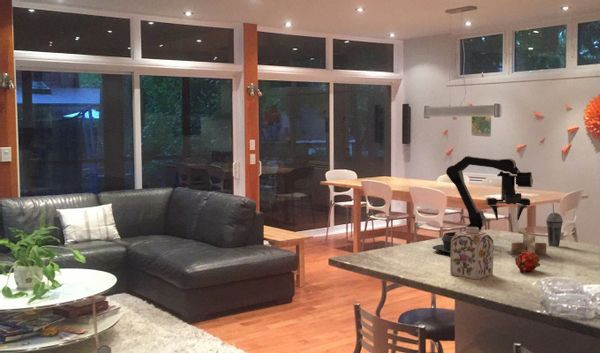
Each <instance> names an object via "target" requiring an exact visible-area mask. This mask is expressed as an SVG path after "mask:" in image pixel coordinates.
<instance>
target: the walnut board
mask: <svg viewBox="0 0 600 353" xmlns="http://www.w3.org/2000/svg"><path fill="white" fill-rule="evenodd" d="M510 249H511V250H510V251H511V254H512V255H518V254H519V253H522V252H525V250H527V249H526V243H523V242H515V241H513V242H511V248H510ZM535 254H537V255H546V254H547V243H546V242H535Z"/></svg>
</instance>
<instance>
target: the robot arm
mask: <svg viewBox="0 0 600 353" xmlns="http://www.w3.org/2000/svg"><path fill="white" fill-rule="evenodd" d="M469 166H478V167H486V168H493V169H497V170H499V173H498V174H497V177H501V194H500V195H501V196H500V198H501V199H497V198H496V197H487V198H486V199H485V204H486V205H487V206H489V207H490V208H491V209H492V212H493V215H494V217H495V219H496V221H498V220H499V214H498V205H497V204H506V205H517V209H516V210H517V211H516V221H519V220H520V217H521V215H522V212H523V211H524V209H525V208H528V206H531V199H530V198H527V197H522V193H520V192H519V193H518V192H517V193H516V189H515V188H516V187H515V186H518V187H519V188H532V187H533V185H534V184H533V183H534V182H533V181H534V179H533V175H532V174H533V172H531V171H528V172H527V171H526V172H524V171H522V172H521V171H520V169H519V168H518V167H517V163H516V161H515V160H514V159H512V158H502V159H501V158H498V159H495V158H494V159H493V158H485V157H476V156H471V155H467V156H464V157H463V158H462V159H461V160H459V161H458V162H456V163H455V164H454V165H449V167H447V169H446V171H445V173H446V175H447V177H448V178H449V180H450V181H451V183H453V185H455V187H456V189H457V191H458V194H459V196H460V198H461V200H462V202H463V204H464V206H465V208H466V211H467V213H468V221H469V224H468V225H466V227H477V228H479V231H480V232H482V228H484V227H485V225H486V223H487V220H486V219H487V217H486V215H485V214H484V213H485V212H484V211H483V210H479V209H478V208H477V206H476V204H475V202H474V200H473V198H472V196H471V194H470V190H469V189H468V187H467V185H466V183H465V179H464V178H465V177H464V174H463V172H464V170H465V169H467V168H468V167H469ZM466 227H465V228H464V230H466Z"/></svg>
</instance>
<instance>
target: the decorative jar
mask: <svg viewBox="0 0 600 353" xmlns="http://www.w3.org/2000/svg"><path fill="white" fill-rule="evenodd" d="M465 228H466V229H465V230H460V231H456V232H457V233H456V234H455V235H454V236H453V238H452V240H451V254H449V256H450V259H449V260H450V262H449V267H450V268H449V270H450V272H449V274H450V276H455V277H460V278H463V279H464V278H465V279H469V280H476V281H477V280H479V281H480V280H481V279H484V278H487V277H490V276H493V275H494V274H493V273H494V239H493V238H492V236H491V235H489V233H487V232H484V231H481V230H480V231H481V232H480V231H479V228H477V227H467V226H466V227H465Z"/></svg>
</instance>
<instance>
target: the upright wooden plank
mask: <svg viewBox="0 0 600 353" xmlns="http://www.w3.org/2000/svg"><path fill="white" fill-rule="evenodd" d="M522 243H526V249H527V250H528V252H535V243H536V235H534V234H533V233H531V232H530V231H522Z"/></svg>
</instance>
